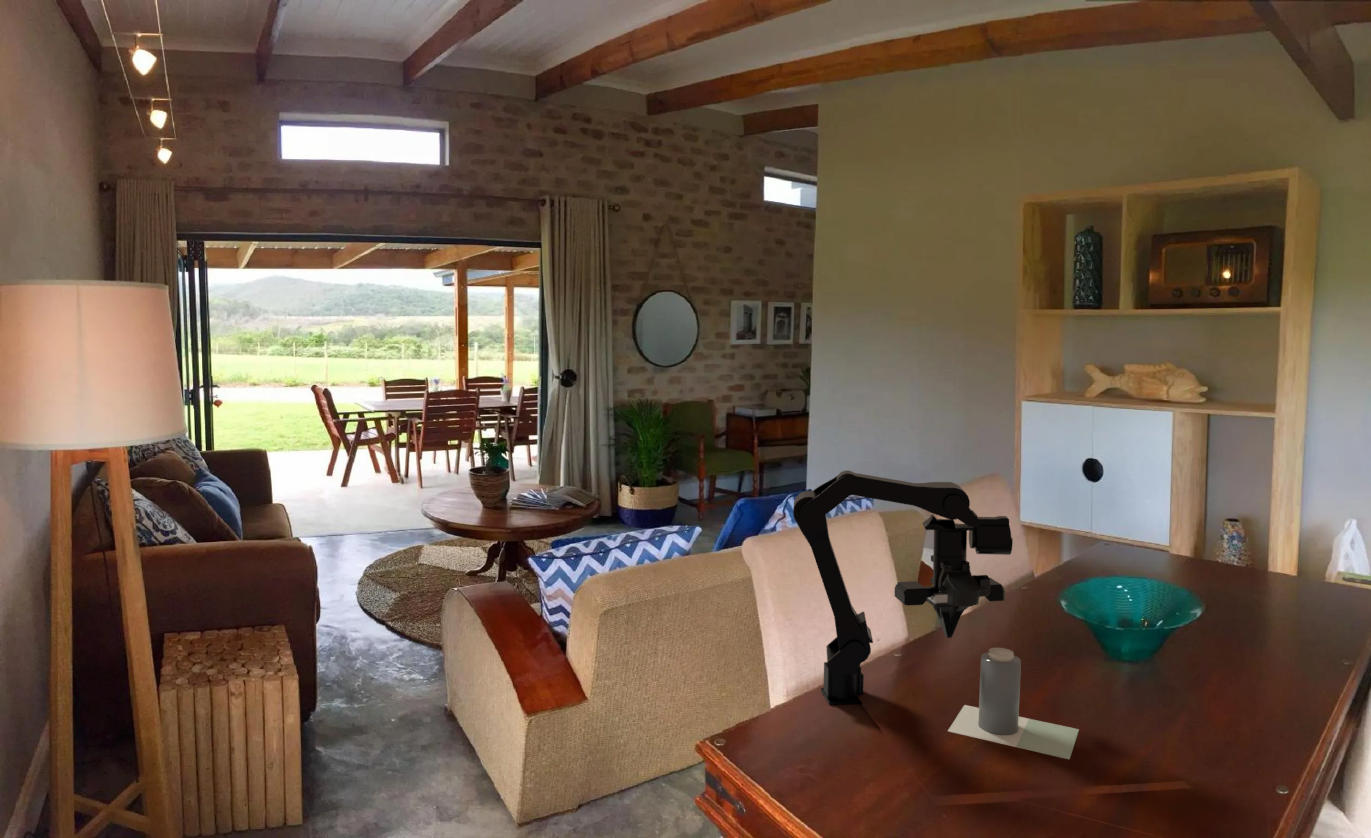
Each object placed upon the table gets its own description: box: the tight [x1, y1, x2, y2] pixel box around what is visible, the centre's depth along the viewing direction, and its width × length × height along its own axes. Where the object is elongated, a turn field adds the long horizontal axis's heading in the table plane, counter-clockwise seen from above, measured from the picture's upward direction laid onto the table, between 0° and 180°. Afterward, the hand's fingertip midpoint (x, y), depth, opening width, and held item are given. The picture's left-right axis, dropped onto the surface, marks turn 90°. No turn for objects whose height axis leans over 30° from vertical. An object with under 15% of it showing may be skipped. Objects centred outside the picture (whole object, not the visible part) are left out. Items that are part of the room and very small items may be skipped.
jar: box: [978, 647, 1022, 735], centre depth 149 cm, size 6×6×13 cm
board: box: [947, 704, 1080, 760], centre depth 149 cm, size 19×12×1 cm, turn 59°
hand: (948, 637), depth 161 cm, fingers closed
